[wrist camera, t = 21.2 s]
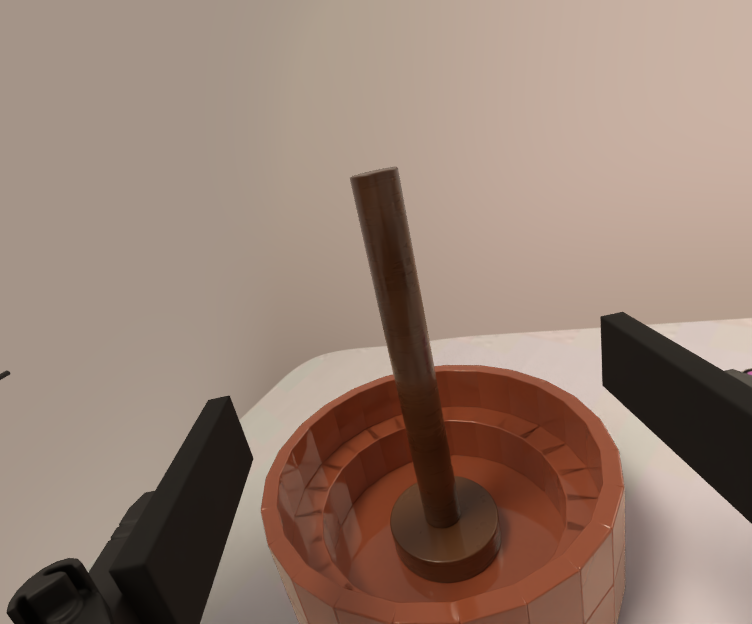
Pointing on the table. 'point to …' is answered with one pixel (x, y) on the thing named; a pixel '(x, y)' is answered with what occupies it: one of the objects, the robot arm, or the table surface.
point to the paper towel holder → (420, 404)
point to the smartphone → (748, 371)
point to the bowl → (469, 460)
